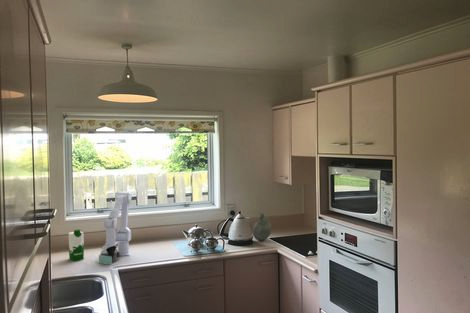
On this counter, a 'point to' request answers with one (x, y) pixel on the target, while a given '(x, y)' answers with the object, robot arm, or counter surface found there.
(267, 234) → the flask
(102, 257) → the side door
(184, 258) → the counter surface
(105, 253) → the camera body
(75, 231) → the milk carton
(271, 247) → the counter surface
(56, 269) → the counter surface
